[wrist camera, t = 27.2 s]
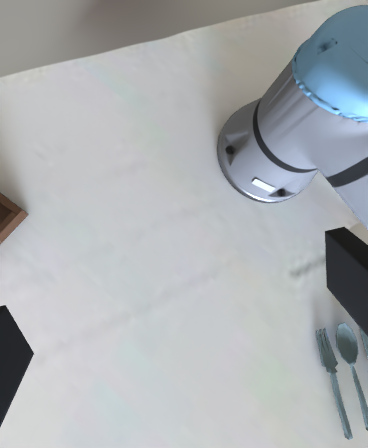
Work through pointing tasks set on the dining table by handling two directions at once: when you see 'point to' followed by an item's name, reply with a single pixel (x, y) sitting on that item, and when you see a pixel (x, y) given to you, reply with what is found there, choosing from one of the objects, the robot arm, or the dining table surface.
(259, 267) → the dining table surface
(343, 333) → the cutlery set
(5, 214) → the serving tray
